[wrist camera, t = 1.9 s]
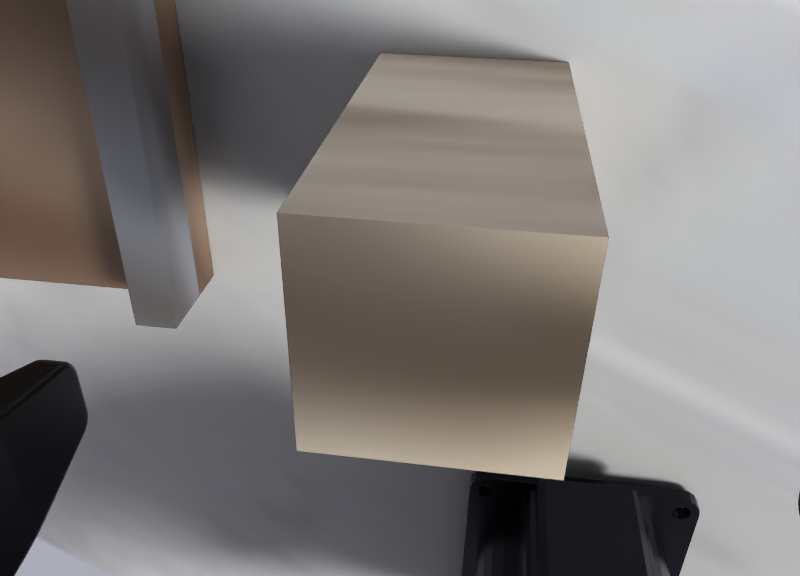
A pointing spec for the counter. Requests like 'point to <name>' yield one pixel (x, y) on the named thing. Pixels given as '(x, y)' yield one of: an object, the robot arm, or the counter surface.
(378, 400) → the block
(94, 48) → the track
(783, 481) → the counter surface
